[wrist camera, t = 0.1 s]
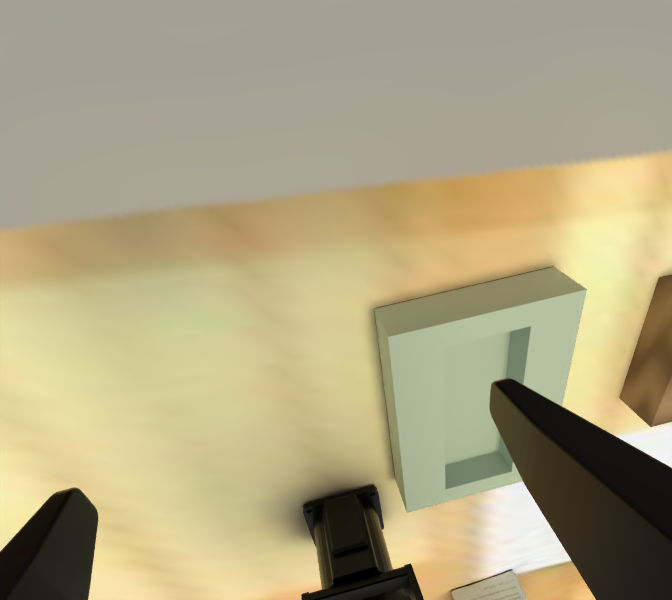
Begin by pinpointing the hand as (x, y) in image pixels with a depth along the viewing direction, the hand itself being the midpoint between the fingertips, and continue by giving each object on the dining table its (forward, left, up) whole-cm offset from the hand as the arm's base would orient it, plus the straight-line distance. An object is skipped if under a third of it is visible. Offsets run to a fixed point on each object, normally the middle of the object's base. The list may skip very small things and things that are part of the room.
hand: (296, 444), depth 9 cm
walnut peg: (-16, -27, -15) cm, 35 cm away
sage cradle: (-16, -11, -15) cm, 24 cm away
